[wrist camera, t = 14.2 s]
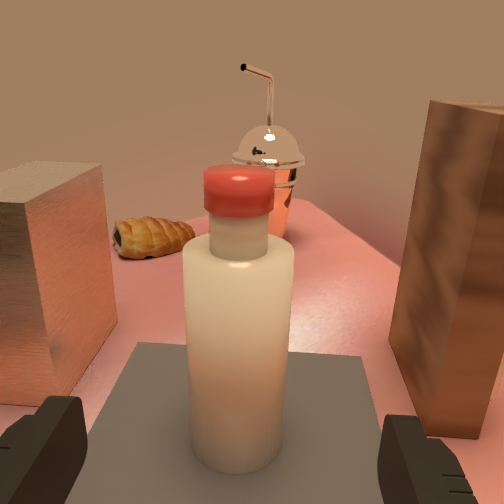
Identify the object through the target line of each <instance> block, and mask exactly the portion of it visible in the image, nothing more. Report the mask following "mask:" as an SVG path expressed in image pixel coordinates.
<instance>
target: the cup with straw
mask: <svg viewBox="0 0 504 504" xmlns="http://www.w3.org/2000/svg"><path fill="white" fill-rule="evenodd" d="M241 70H242V71H245V72H248V73H250V74H254V75H256V76H259V77H262V78H265V79H267V81H268V100H267V124H266V125H262V126H258V127H256V128H254V129H252V130H251V131H249V132H248V133H247V134H246V135H245V136H244V138H243V140H242V142H241V144H240V146H239V151H237V152H234V153H233V158H232V160H231V161H232V163H233V164H243V165H255V166H262V167H266V168H270V169H272V170H274V171H275V196H274V209H273V210H272V211H271V212H270V213H269V229H268V234H271V235H274V236H277V237H280V238H282V239H283V236H284V234H285V230H286V225H287V219H288V213H289V208H290V202H291V197H292V191H293V187H294V185H295V181H296V178H297V174H298V168H299V167H302V166H304V165H305V159H304V158H305V157H304V155H302V154H300V153H299V148H298V145H297V143H296V140H295V139H294V137H293V136H292V135H291V133H289V132H288V131H287V130H285V129H284V128H282V127H279V126H275V125H273V105H274V79H273V76H272V75H271V74H270V73H268V72H266V71H263V70H261V69H258V68H255V67H252V66H250V65H247V64H242V65H241Z"/></svg>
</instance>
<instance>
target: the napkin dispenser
mask: <svg viewBox="0 0 504 504" xmlns="http://www.w3.org/2000/svg"><path fill="white" fill-rule="evenodd" d="M116 323H117V312H116V302H115V293H114V283H113V273H112V263H111V254H110V244H109V234H108V225H107V216H106V206H105V195H104V186H103V176H102V166H101V164H94V163H71V162H49V161H47V162H46V161H31V162H28V163H25V164H23V165H20V166H17V167H14V168H11V169H9V170H6V171H3V172H0V404H11V405H25V406H38V407H40V406H41V405H42V403H43V402H44V400H45V399H46V398H47V397H48V396H50V395H55V396H69V394H70V393H71V391H72V390H73V388H74V387H75V385H76V384H77V382H78V381H79V379H80V378H81V376H82V375H83V373H84V372H85V370H86V369H87V367H88V366H89V364H90V363H91V361H92V360H93V358H94V357H95V355H96V354H97V352H98V351H99V349H100V348H101V346H102V345H103V343H104V342H105V340H106V338H107V337H108V335H109V334H110V332H111V331H112V329H113V328H114V326H115V325H116Z"/></svg>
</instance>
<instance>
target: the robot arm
mask: <svg viewBox="0 0 504 504" xmlns="http://www.w3.org/2000/svg"><path fill="white" fill-rule="evenodd" d="M87 449H88V439H87V432H86V426H85V419H84V413H83V406H82V401H81V399H80V398H79V397H74V396H55V395H50V396H48V397H47V398H46V399H45V400H44V402H43V403H42V405H41V406H40V407H39V409H38V410H37V412H36V413H35V414H34V415H24V416H23V417H22V418H20V419H19V420H18V421H17V422H15V423H14V424H13V425H11V426H10V427H9V428H7V429H6V430H5V432H4V433H3V434H2V436H1V437H0V504H64V503H65V501H66V499H67V497H68V495H69V493H70V491H71V489H72V487H73V485H74V483H75V481H76V479H77V477H78V475H79V473H80V471H81V469H82V467H83V465H84V462H85V459H86V455H87ZM377 474H378V482H379V487H380V491H381V495H382V499H383V503H384V504H478V502H477V500H476V497H475V496H473V491H472V489H471V487H470V485H469V483H468V480H467V479H465V474H464V472H463V470H462V468H461V466H460V463H459V461H458V459H457V457H456V456H455V454H454V453H453V452H452V451H451V450H450V449H449V448H448V447H447V446H446V445H445V444H444V443H443V442H442V441H441V440H440V439H432V438H427V437H426V435H425V432H424V430H423V427H422V425H421V423H420V420H419V419H418V417H417V416H407V415H389V414H387V415H386V416H385V419H384V424H383V430H382V436H381V441H380V447H379V453H378V459H377Z"/></svg>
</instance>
